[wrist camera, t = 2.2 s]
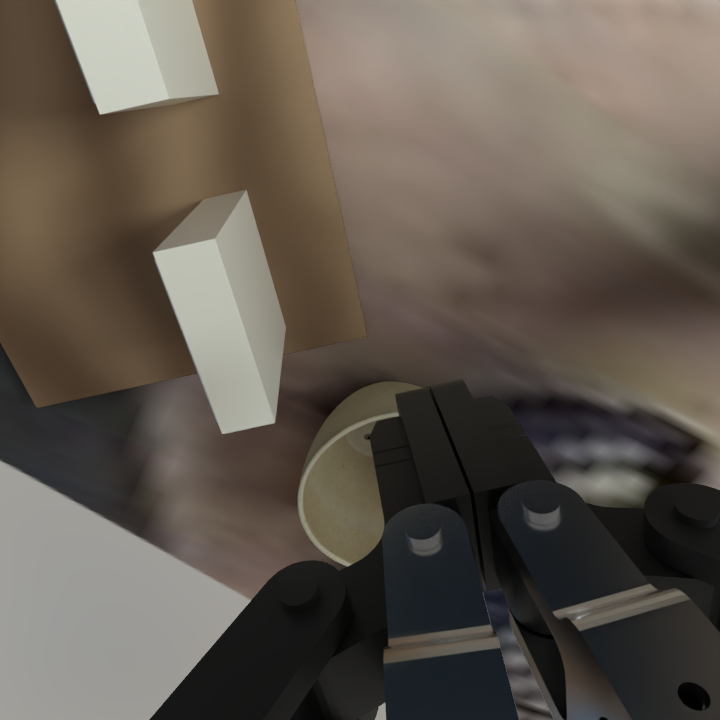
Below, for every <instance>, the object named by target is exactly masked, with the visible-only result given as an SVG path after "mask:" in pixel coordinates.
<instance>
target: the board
mask: <svg viewBox="0 0 720 720" xmlns="http://www.w3.org/2000/svg"><path fill="white" fill-rule="evenodd" d="M192 2H193V6H194V9H195V13H196V16H197V20H198V23H199V27H200V30H201V33H202V37H203V40H204V44H205V47H206V51H207V54H208V58H209V61H210V65H211V68H212V72H213V75H214V79H215V82H216V86H217V89H218V93H219V94H218V95H214V96H209V97H205V98H201V99H196V100H192V101H187V102H183V103H178V104H174V105H167V106H160V107H153V108H145V109H138V110H130V111H123V112H116V113H108V114H101V115H100V114H99V111H98V109H97V106H96V104H94V103H93V100H92V97H91V95H90V92H89V90H88V87H87V84H86V82H85V79H84V77H83V74H82V71H81V69H80V66H79V64H78V61H77V58H76V56H75V53H74V51H73V48H72V45H71V43H70V40H69V38H68V35H67V32H66V30H65V27H64V25H63V22H62V19H61V17H60V14H59V12H58V9H57V6H56V4H55V1H54V0H0V343H1V345H2V347H3V348H4V350H5V352H6V354H7V356H8V357H9V359H10V361H11V363H12V365H13V366H14V368H15V370H16V372H17V374H18V375H19V377H20V379H21V381H22V382H23V384H24V386H25V388H26V390H27V391H28V393H29V395H30V397H31V399H32V400H33V402H34V404H35V406H36V408H39V407H44V406H49V405H53V404H58V403H63V402H67V401H72V400H77V399H81V398H86V397H90V396H95V395H100V394H104V393H109V392H114V391H118V390H123V389H127V388H132V387H137V386H141V385H146V384H151V383H155V382H160V381H165V380H169V379H174V378H178V377H183V376H188V375H192V374H197V370H196V368H195V365H194V363H193V360H192V357H191V355H190V352H189V350H188V347H187V344H186V342H185V339H184V337H183V334H182V331H181V329H180V326H179V324H178V321H177V318H176V316H175V313H174V311H173V308H172V305H171V303H170V300H169V298H168V295H167V292H166V290H165V287H164V285H163V282H162V279H161V277H160V274H159V272H158V269H157V266H156V264H155V261H154V259H155V257H154V255H153V251H154V250H155V249H156V248H157V247H158V246H159V245H160V244H161V243H162V242H163V241H164V240H165V239H166V238H167V237H168V236H169V235H170V234H171V233H172V232H173V231H174V230H175V229H176V228H177V227H178V225H179V224H180V223H181V222H182V221H183V220H184V219H185V218H186V217H187V216H188V215H189V214H190V213H191V212H192V211H193V210H194V209H195V208H196V207H197V206H198V205H199V204H200V203H201V202H202V201H203V200H204V199H207V198H211V197H216V196H220V195H225V194H229V193H234V192H238V191H243V190H247V194H248V197H249V200H250V204H251V207H252V211H253V214H254V218H255V221H256V225H257V228H258V232H259V235H260V239H261V242H262V246H263V249H264V253H265V256H266V260H267V263H268V267H269V270H270V274H271V277H272V280H273V284H274V287H275V291H276V294H277V298H278V301H279V305H280V308H281V312H282V315H283V319H284V322H285V326H286V331H285V340H284V349H283V355H285V354H290V353H294V352H299V351H303V350H308V349H313V348H317V347H322V346H327V345H331V344H336V343H341V342H345V341H350V340H354V339H359V338H364V337H367V332H366V327H365V323H364V318H363V313H362V309H361V304H360V299H359V295H358V290H357V285H356V281H355V276H354V271H353V267H352V262H351V257H350V253H349V248H348V243H347V239H346V234H345V229H344V225H343V220H342V215H341V211H340V206H339V201H338V197H337V192H336V187H335V183H334V178H333V173H332V169H331V164H330V159H329V155H328V150H327V145H326V141H325V136H324V131H323V127H322V122H321V117H320V113H319V108H318V104H317V99H316V94H315V90H314V85H313V80H312V76H311V71H310V66H309V62H308V57H307V52H306V48H305V43H304V38H303V34H302V29H301V24H300V20H299V15H298V10H297V6H296V1H295V0H192Z"/></svg>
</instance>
